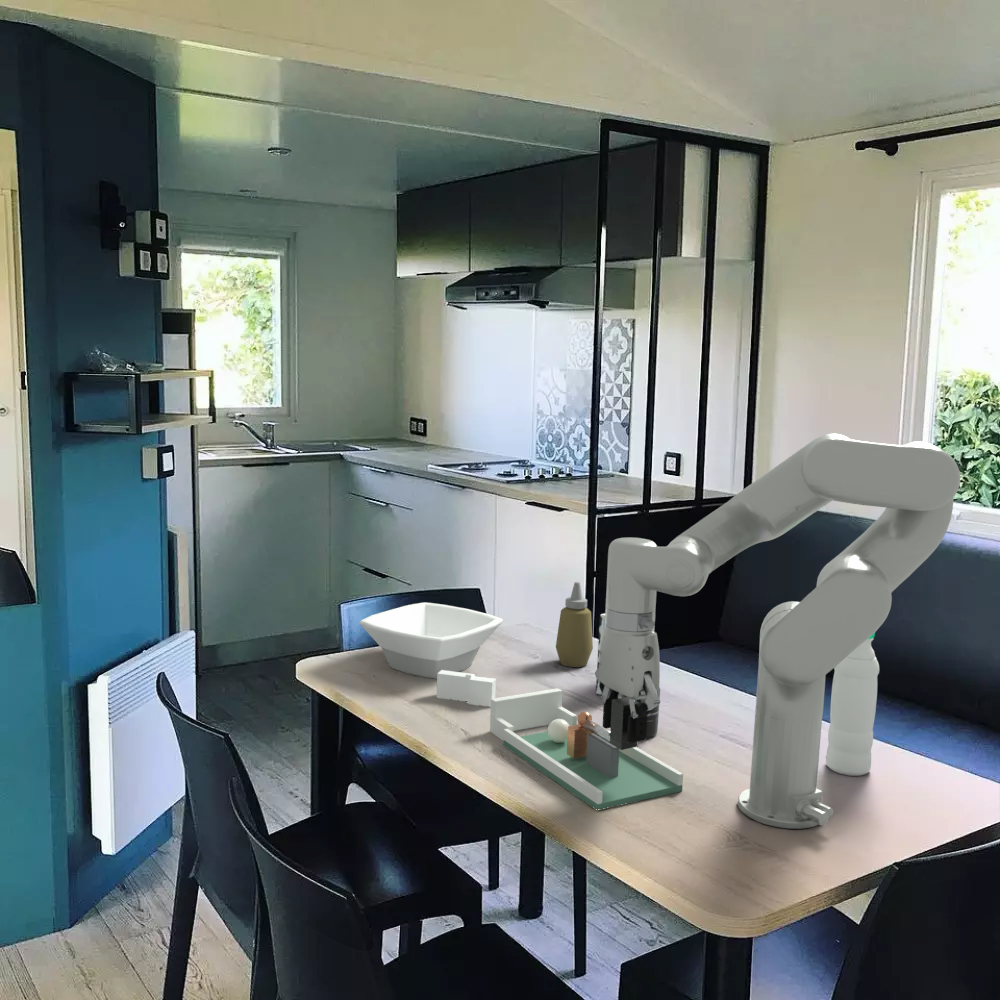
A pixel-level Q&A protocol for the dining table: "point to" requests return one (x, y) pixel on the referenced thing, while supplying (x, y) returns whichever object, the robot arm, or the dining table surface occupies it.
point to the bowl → (430, 637)
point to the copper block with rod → (601, 729)
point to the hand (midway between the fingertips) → (624, 732)
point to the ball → (558, 730)
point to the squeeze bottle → (575, 631)
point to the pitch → (591, 777)
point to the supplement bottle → (650, 719)
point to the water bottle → (853, 712)
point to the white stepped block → (465, 687)
